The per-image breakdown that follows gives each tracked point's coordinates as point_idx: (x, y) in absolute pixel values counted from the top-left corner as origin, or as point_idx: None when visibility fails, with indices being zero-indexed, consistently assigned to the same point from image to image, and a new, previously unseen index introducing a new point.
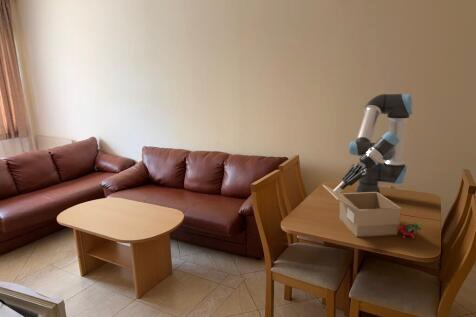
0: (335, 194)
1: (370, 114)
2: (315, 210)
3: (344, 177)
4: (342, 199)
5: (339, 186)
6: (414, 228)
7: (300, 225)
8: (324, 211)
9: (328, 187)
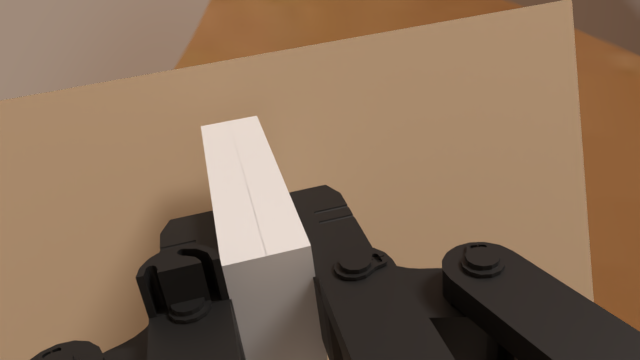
0: (173, 163)
1: None
2: (590, 161)
3: (477, 306)
4: (37, 273)
5: (210, 188)
6: None
7: (273, 33)
8: (589, 235)
9: (557, 108)
